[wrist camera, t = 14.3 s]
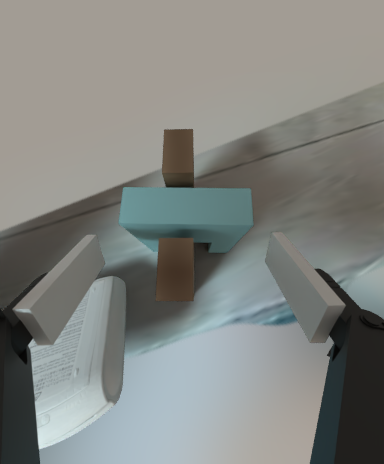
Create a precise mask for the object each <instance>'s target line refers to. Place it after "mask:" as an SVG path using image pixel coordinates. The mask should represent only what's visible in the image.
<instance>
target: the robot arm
mask: <svg viewBox="0 0 384 464" xmlns="http://www.w3.org/2000/svg"><path fill="white" fill-rule="evenodd" d="M265 262H266V264H267V266H268V268H269V269H270V271H271V273H272V275H273V277H274V279H275V280H276V282H277V284H278V286H279V288H280V289H281V291H282V293H283V295H284V297H285V298H286V300H287V302H288V304H289V306H290V308H291V309H292V311H293V313H294V315H295V317H296V318H297V320H298V322H299V324H300V326H301V327H302V329H303V331H304V333H305V335H306V336H307V338H308V340H309V342H310V343H325V342H326V340H327V338H328V337H329V335H330V337H331V338H332V340H333V341H334V344H333V346H332V348H331V349H330V351H329V353H328V354H327V356H329V357H330V360H329V365H328V371H327V376H326V381H325V386H324V392H323V397H322V402H321V408H320V413H319V418H318V423H317V429H316V434H315V439H314V444H313V449H312V455H311V460H310V464H384V320H383V319H382V318H381V317H379V316H378V315H376V314H374V313H372V312H370V311H367V310H364V309H361V308H360V307H359V306H358V305H357V304H356V303H355V302H354V301H353V300H352V299H351V298H350V297H349V295H348V294H347V293H346V292H345V291H344V290H343V289H342V288H340V286H339V285H338V284H337V283H336V282H335V281H334V280H333V278H332V277H331V276H330V275H329V274H327V273H326V272H324V271H323V270H321V269H314V268H313V267H312V266H311V265H310V264H309V263H308V261H307V260H306V259H305V258H304V257H303V256H302V255H301V253H300V252H299V251H298V250H297V249H296V248H295V247H294V245H293V244H292V243H291V242H290V241H289V240H288V239H287V237H286V236H285V235H284V234H283V233H282V232H271V237H270V241H269V246H268V251H267V255H266V260H265ZM104 265H105V261H104V258H103V255H102V251H101V248H100V245H99V241H98V238H97V235H86V236H85V237H84V238H83V239H82V240H81V241H80V242H79V243H78V244H77V245H76V246H75V247H74V248H73V249H72V250H71V251H70V252H69V253H68V254H67V255H66V256H65V257H64V258H63V259H62V260H61V261H60V262H59V263H58V264H57V265H56V266H55V267H54V268H53V269H52V270H51V271H50V272H49V273H45V274H43V275H41V276H40V277H38V278H37V279H35V280H34V281H33V282H32V283H31V284H30V285H29V287H27V288H26V289H25V290H24V291H23V293H21V294H20V295H19V296H18V297H17V298H16V299H15V300H14V301H13V302H12V303H11V304H10V305H9V306H7V307H6V308H5V309H4V310H3V311H2V310H1V309H0V464H40V458H39V445H38V433H37V421H36V410H35V398H34V386H33V374H32V362H31V350H30V348H29V346H28V345H29V343H30V342H31V341H32V339H34V341H35V342H36V344H37V345H38V346H53V344H54V343H55V341H56V340H57V338H58V337H59V335H60V334H61V332H62V330H63V329H64V327H65V326H66V324H67V323H68V321H69V320H70V318H71V316H72V315H73V313H74V312H75V310H76V309H77V307H78V305H79V304H80V302H81V301H82V299H83V298H84V296H85V295H86V293H87V291H88V290H89V288H90V287H91V285H92V284H93V282H94V281H95V279H96V277H97V276H98V274H99V273H100V271H101V270H102V268H103V267H104Z"/></svg>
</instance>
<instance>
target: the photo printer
mask: <svg viewBox="0 0 384 464" xmlns="http://www.w3.org/2000/svg"><path fill="white" fill-rule="evenodd" d="M125 324H126V284H125V282H124V281H123V280H122V279H120V278H118V277H113V276H108V277H104V278H100V279H97V280H95V281H94V282H93V284H92V285H91V287H90V288H89V290H88V291H87V293H86V295H85V296H84V298H83V299H82V301H81V302H80V304H79V305H78V307H77V309H76V310H75V312H74V313H73V315H72V316H71V318H70V320H69V321H68V323H67V324H66V326H65V327H64V329H63V330H62V332H61V334H60V335H59V337H58V338H57V340H56V341H55V343H54V344H53V346H38V345H37V344H36V342H35V341H34V339H32V341H31V342H30V343H29V345H28V346H29V348H30V350H31V362H32V374H33V386H34V398H35V410H36V421H37V433H38V445H39V449H42V448H45V447H48V446H51V445H53V444H56V443H58V442H60V441H62V440H64V439H67V438H68V437H70V436H72V435H73V434H75V433H77V432H79V431H81V430H82V429H84V428H85V427H87V426H88V425H90V424H91V423H93V422H94V421H96V420H97V419H98V418H99V417H101V416H102V415H104V413H106V412H107V411H109V410H110V409H111V408H112V407H113V406H114V405H115V404H116V403H117V401H118V400H119V397H120V394H121V391H122V385H123V370H124V347H125Z"/></svg>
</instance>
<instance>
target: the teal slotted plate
mask: <svg viewBox="0 0 384 464" xmlns="http://www.w3.org/2000/svg"><path fill="white" fill-rule="evenodd" d="M119 224H120V225H121V226H122V227H124V228H125V229H126V230H127V231H129V232H130V233H131V234H132V235H134V236H135V237H136V238H137V239H138V240H140V241H141V242H142V243H143V244H145V245H146V246H147V247H148V248H150V249H151V250H152V251H153V252H158V244H159V238H193V242H201V243H208V252H209V253H227V252H228V251H229V250H230V249H231V248H232V247H233V246H234V245H235V244H236V243H237V242H238V241H239V240H240V239H241V238H242V237H243V236H244V235H245V234H246V233H247V231H248V230H249V229H250V228H251V227H252V226H253V225H254V224H253V210H252V197H251V188H152V187H123V193H122V200H121V208H120V215H119Z"/></svg>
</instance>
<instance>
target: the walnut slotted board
mask: <svg viewBox="0 0 384 464" xmlns="http://www.w3.org/2000/svg"><path fill="white" fill-rule="evenodd" d="M162 174H163V178H164V181H165V185H166V188H194V158H193V129H181V130H180V129H175V130H164V145H163V164H162ZM194 294H195V290H194V242H193V238H159V244H158V264H157V283H156V301H193V300H194Z"/></svg>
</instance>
